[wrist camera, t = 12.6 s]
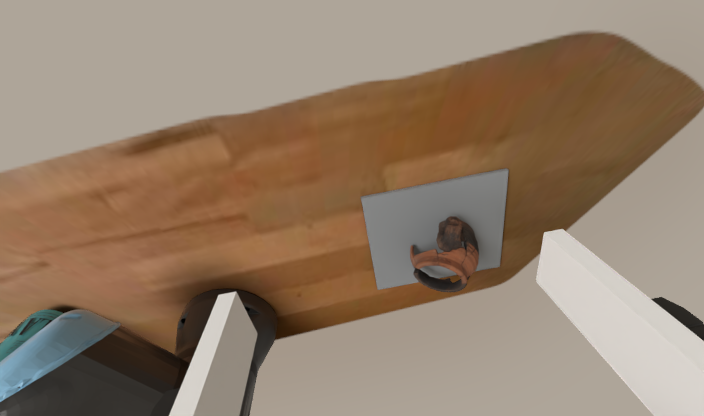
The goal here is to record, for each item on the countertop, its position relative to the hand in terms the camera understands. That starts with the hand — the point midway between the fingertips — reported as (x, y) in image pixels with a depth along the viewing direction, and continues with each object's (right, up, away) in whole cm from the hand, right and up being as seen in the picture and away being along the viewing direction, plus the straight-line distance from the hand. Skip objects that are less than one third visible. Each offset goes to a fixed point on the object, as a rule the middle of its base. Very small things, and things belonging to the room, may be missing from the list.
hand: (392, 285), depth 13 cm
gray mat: (+11, -1, +32) cm, 34 cm away
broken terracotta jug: (+11, -1, +32) cm, 34 cm away
